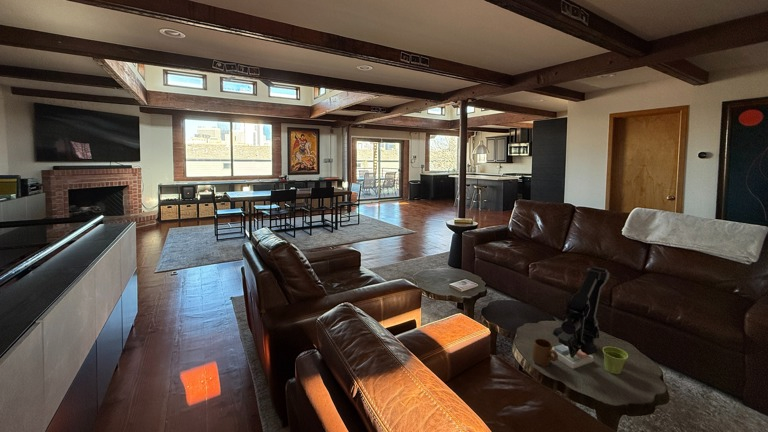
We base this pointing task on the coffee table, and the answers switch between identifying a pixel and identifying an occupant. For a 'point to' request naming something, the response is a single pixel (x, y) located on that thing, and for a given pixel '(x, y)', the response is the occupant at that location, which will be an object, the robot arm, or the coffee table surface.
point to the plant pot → (614, 359)
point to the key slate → (561, 349)
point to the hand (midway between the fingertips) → (572, 357)
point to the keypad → (575, 363)
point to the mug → (543, 352)
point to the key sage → (572, 358)
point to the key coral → (581, 354)
